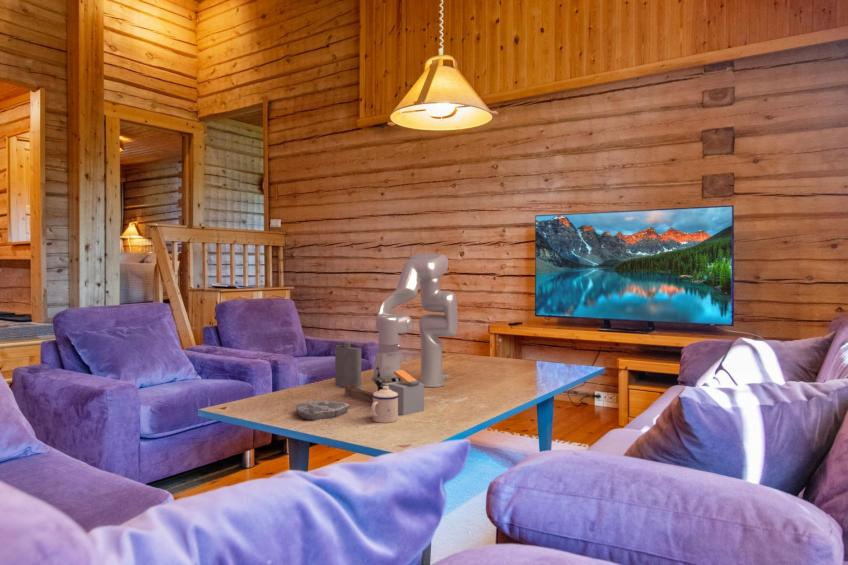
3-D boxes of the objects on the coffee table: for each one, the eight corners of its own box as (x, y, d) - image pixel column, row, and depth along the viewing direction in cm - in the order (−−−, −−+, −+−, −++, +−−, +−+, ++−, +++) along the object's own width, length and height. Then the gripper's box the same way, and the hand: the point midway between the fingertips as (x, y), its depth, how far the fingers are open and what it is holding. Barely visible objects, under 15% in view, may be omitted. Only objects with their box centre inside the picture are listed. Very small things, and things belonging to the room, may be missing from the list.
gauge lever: (402, 373, 223) (403, 369, 222) (418, 385, 216) (419, 381, 216) (393, 374, 220) (394, 370, 219) (409, 387, 213) (411, 383, 213)
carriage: (388, 400, 230) (388, 380, 229) (398, 403, 225) (399, 382, 225) (376, 403, 226) (376, 382, 225) (387, 405, 221) (387, 384, 221)
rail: (354, 394, 244) (354, 383, 244) (403, 407, 223) (403, 395, 223) (344, 396, 241) (344, 385, 241) (393, 409, 219) (393, 397, 219)
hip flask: (362, 389, 255) (362, 342, 254) (355, 390, 252) (355, 343, 251) (339, 383, 266) (339, 339, 265) (332, 384, 263) (332, 340, 262)
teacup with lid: (382, 415, 212) (382, 382, 211) (403, 418, 207) (403, 385, 206) (361, 422, 202) (361, 388, 201) (383, 426, 197) (383, 391, 196)
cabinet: (408, 406, 224) (408, 380, 224) (423, 410, 218) (423, 383, 218) (388, 411, 218) (388, 384, 217) (403, 415, 212) (403, 387, 211)
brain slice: (324, 406, 225) (324, 398, 225) (356, 413, 215) (356, 405, 215) (282, 416, 210) (282, 407, 210) (314, 424, 200) (314, 415, 199)
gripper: (398, 345, 233) (398, 390, 234) (364, 349, 221) (363, 397, 222) (411, 347, 228) (411, 394, 229) (376, 351, 216) (376, 401, 217)
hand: (387, 395), depth 225 cm, fingers closed on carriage, 5 cm apart
